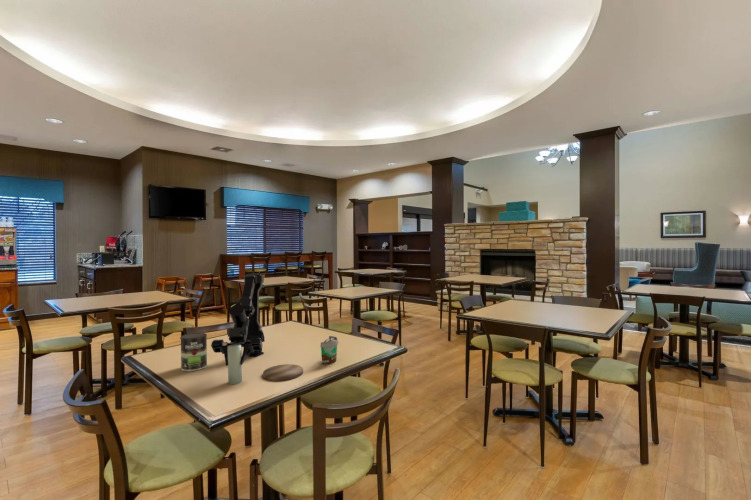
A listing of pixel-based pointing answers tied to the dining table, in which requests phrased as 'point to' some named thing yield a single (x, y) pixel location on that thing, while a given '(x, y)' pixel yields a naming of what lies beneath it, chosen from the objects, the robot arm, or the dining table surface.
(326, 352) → the food container
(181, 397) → the dining table surface
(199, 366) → the coffee can
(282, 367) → the disc
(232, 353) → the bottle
